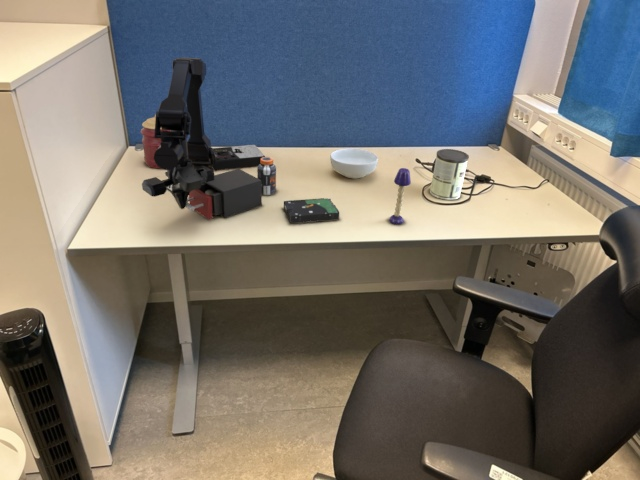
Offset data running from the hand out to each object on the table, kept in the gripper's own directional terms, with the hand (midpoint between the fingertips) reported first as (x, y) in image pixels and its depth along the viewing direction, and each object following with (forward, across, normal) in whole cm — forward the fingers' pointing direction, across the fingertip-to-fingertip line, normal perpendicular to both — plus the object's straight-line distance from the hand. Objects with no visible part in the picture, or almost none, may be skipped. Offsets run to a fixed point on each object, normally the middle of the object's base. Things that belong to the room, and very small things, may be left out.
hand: (182, 208), depth 131 cm
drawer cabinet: (+4, +17, 0) cm, 17 cm away
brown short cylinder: (+2, +10, 0) cm, 10 cm away
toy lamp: (+4, +48, -38) cm, 62 cm away
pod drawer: (+3, +9, 0) cm, 10 cm away
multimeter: (+4, +38, +29) cm, 48 cm away
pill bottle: (+4, +31, +1) cm, 31 cm away
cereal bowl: (+4, +65, -6) cm, 65 cm away
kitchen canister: (+4, +17, +43) cm, 46 cm away
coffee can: (+4, +78, -36) cm, 86 cm away
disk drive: (+4, +31, -19) cm, 37 cm away
